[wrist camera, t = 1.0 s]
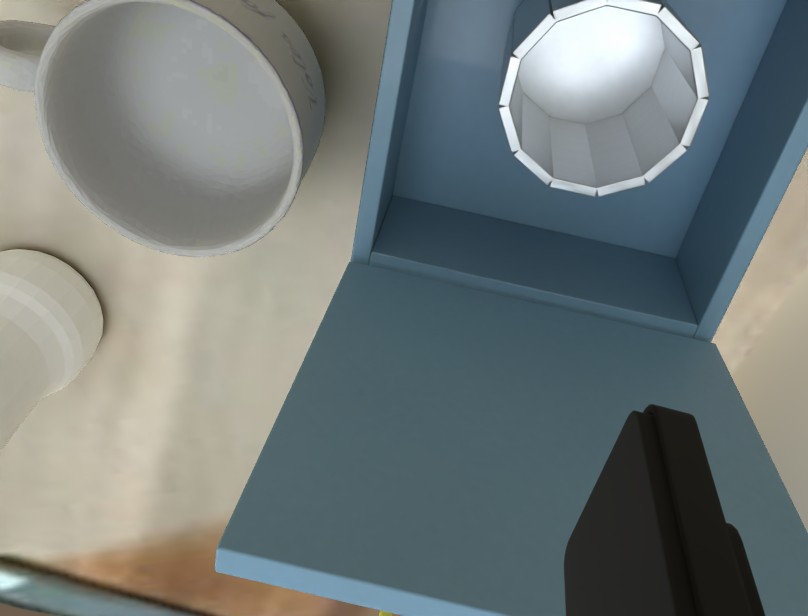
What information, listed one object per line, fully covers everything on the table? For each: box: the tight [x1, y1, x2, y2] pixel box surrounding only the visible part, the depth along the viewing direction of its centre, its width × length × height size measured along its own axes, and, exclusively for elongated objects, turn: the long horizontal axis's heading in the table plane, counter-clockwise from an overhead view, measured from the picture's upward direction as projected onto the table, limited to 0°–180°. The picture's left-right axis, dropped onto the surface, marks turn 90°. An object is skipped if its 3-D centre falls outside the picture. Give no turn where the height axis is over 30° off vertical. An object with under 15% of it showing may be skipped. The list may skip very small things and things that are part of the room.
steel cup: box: [498, 0, 710, 197], centre depth 29 cm, size 7×7×8 cm
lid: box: [215, 262, 808, 616], centre depth 24 cm, size 16×16×1 cm
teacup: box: [0, 0, 325, 257], centre depth 32 cm, size 14×11×8 cm
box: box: [351, 0, 808, 343], centre depth 31 cm, size 16×16×7 cm
